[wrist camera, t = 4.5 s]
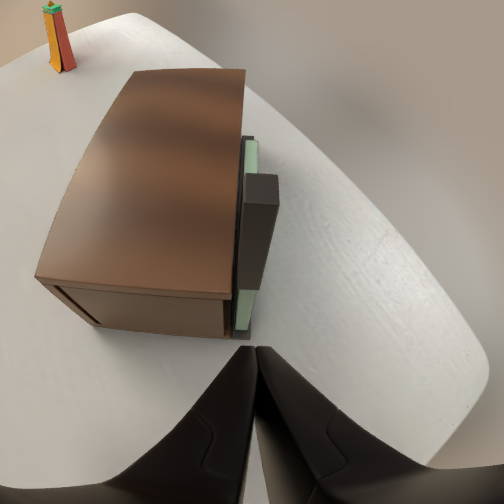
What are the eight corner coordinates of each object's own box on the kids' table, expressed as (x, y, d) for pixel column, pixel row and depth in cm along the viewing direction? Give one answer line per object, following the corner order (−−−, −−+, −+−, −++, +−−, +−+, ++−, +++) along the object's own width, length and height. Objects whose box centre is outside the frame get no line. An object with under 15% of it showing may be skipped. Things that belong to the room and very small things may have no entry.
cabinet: (249, 339, 20) (262, 295, 13) (91, 325, 19) (33, 277, 12) (253, 138, 30) (260, 70, 23) (145, 136, 29) (133, 71, 22)
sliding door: (248, 332, 20) (279, 205, 8) (233, 331, 20) (243, 203, 8) (251, 207, 25) (269, 56, 13) (238, 206, 25) (250, 55, 13)
